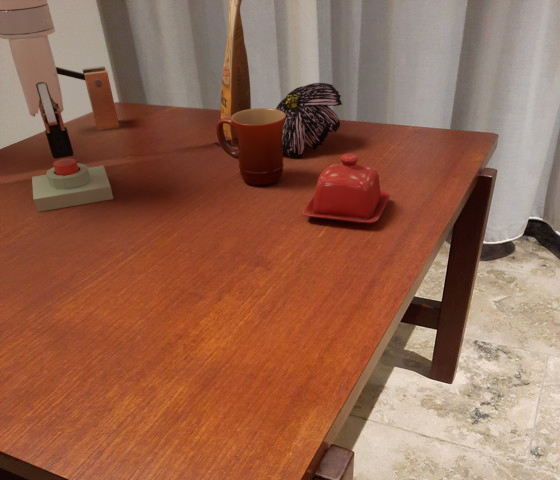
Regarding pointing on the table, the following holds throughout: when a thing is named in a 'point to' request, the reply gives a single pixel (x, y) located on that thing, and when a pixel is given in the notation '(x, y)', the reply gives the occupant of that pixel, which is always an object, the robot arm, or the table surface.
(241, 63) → the pancake mix bag
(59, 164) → the button
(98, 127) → the bracket
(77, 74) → the lever
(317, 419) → the table surface
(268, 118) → the mug
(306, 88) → the decorative flower
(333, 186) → the butter dish
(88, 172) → the button housing
